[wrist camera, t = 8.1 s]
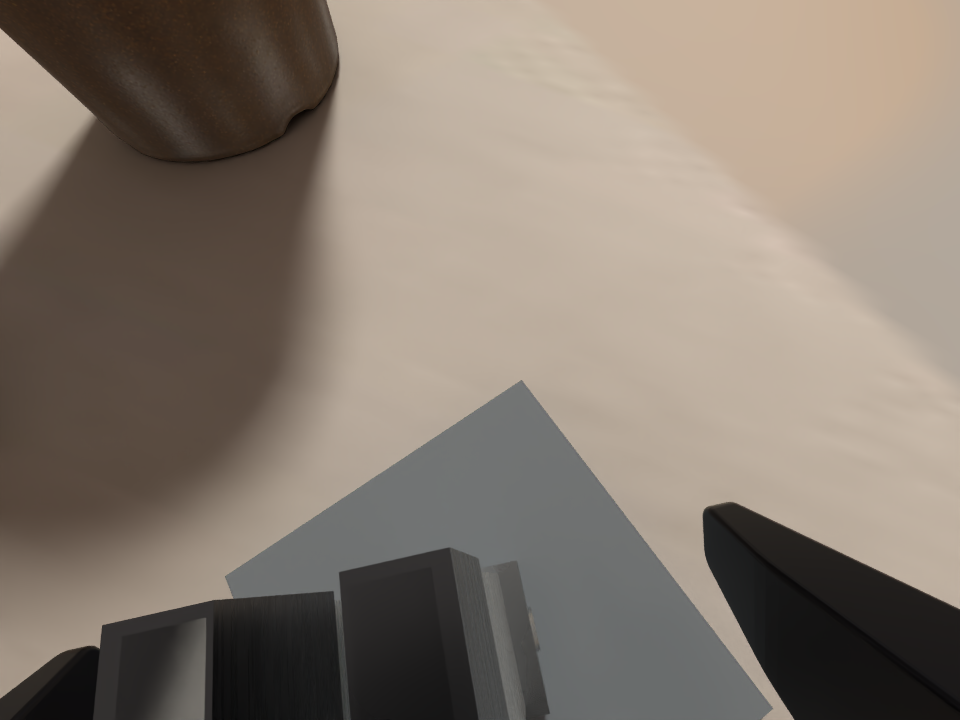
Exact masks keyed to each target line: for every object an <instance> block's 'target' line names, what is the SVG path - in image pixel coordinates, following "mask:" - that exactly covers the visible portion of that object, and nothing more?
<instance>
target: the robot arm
mask: <svg viewBox="0 0 960 720" xmlns="http://www.w3.org/2000/svg"><path fill="white" fill-rule="evenodd" d="M703 532H704V551H705V556H706V560H707V563H708V565H709V567H710V570H711V571H712V573H713V575H714V577H715V579H716V581H717V583H718V585H719V587H720V589H721V591H722V593H723V595H724V596H725V598H726V600H727V602H728V604H729V606H730V608H731V610H732V612H733V614H734V616H735V618H736V619H737V621H738V623H739V625H740V627H741V629H742V631H743V633H744V635H745V637H746V639H747V641H748V643H749V644H750V646H751V648H752V650H753V652H754V654H755V656H756V658H757V660H758V661H759V663H760V665H761V667H762V669H763V671H764V672H765V674H766V676H767V677H768V679H769V681H770V682H771V684H772V685H773V687H774V689H775V690H776V692H777V693H778V695H779V697H780V698H781V700H782V701H783V703H784V704H785V706H786V707H787V709H788V710H789V712H790V714H791V715H792V717H793V718H794V720H960V609H958V608H956V607H954V606H952V605H950V604H948V603H946V602H944V601H941V600H939V599H937V598H935V597H933V596H931V595H929V594H927V593H925V592H922V591H920V590H918V589H916V588H914V587H912V586H910V585H908V584H906V583H903V582H901V581H899V580H897V579H895V578H893V577H891V576H889V575H887V574H885V573H882V572H880V571H878V570H876V569H874V568H872V567H870V566H868V565H866V564H863V563H861V562H859V561H857V560H855V559H853V558H851V557H849V556H847V555H844V554H842V553H840V552H838V551H836V550H834V549H832V548H830V547H828V546H825V545H823V544H821V543H819V542H817V541H815V540H813V539H811V538H809V537H807V536H804V535H802V534H800V533H798V532H796V531H794V530H792V529H790V528H788V527H785V526H783V525H781V524H779V523H777V522H775V521H773V520H771V519H769V518H766V517H764V516H762V515H760V514H758V513H756V512H754V511H752V510H750V509H747V508H745V507H743V506H741V505H739V504H737V503H734V502H726V503H721V504H717V505H713V506H708V507H707V508H705V509H704V512H703ZM99 653H100V649H99V648H97V647H95V646H85V647H81V648H76V649H72V650H68V651H65V652H62V653H60V654H59V655H57V656H56V657H54V658H53V659H52V660H50V661H49V662H48V663H46V664H45V665H44V666H43V667H41V668H40V669H39V670H37V671H36V672H35V673H33V674H32V675H31V676H29V677H28V678H27V679H26V680H24V681H23V682H22V683H20V684H19V685H18V686H16V687H15V688H14V689H12V690H11V691H10V692H9V693H7V694H6V695H5V696H3V697H2V698H1V699H0V720H93V715H94V705H95V694H96V684H97V674H98V663H99Z"/></svg>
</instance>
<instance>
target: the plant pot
mask: <svg viewBox="0 0 960 720" xmlns="http://www.w3.org/2000/svg"><path fill="white" fill-rule="evenodd" d="M0 28H1V29H2V30H3V31H4V32H5V33H6V34H7V35H8V36H9V37H11V38H12V39H13V40H14V41H15V42H16V43H17V44H18V45H19V46H20V47H21V48H23V49H24V50H25V51H26V52H27V53H28V54H29V55H30V56H31V57H32V58H33V59H35V60H36V61H37V62H38V63H39V64H40V65H41V66H42V67H43V68H44V69H45V70H47V71H48V72H49V73H50V74H51V75H52V76H53V77H54V78H55V79H56V80H57V81H59V82H60V83H61V84H62V85H63V86H64V87H65V88H66V89H67V90H68V91H69V92H70V93H71V94H73V95H74V96H75V97H76V98H77V99H78V100H79V101H80V102H81V103H82V104H83V105H84V106H85V107H87V108H88V109H89V110H90V111H91V112H92V113H93V114H94V115H95V116H96V117H97V118H98V119H99V120H100V121H101V122H102V123H103V124H104V125H105V126H106V127H107V128H108V129H109V130H110V131H112V132H113V133H114V134H115V135H116V136H117V137H119V138H120V139H122V140H123V141H125V142H126V143H128V144H129V145H131V146H132V147H133V148H135V149H136V150H138V151H139V152H140V153H143V154H145V155H148V156H150V157H154V158H158V159H163V160H169V161H184V162H187V161H206V160H215V159H220V158H225V157H229V156H234V155H237V154H241V153H244V152H247V151H251V150H253V149H256V148H259V147H261V146H263V145H265V144H267V143H269V142H271V141H273V140H275V139H277V138H279V137H280V136H282V135H283V134H284V133H285V131H286V128H287V125H288V124H289V122H290V120H291V119H292V118H293V116H295V115H296V114H298V113H299V112H301V111H303V110H305V109H314V108H315V107H316V106H317V105H318V104H319V102H320V101H321V100H322V99H323V97H324V95H325V94H326V92H327V90H328V89H329V87H330V85H331V83H332V80H333V78H334V75H335V72H336V68H337V63H338V43H337V36H336V33H335V29H334V26H333V22H332V19H331V15H330V12H329V8H328V5H327V1H326V0H0Z"/></svg>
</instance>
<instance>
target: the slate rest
mask: <svg viewBox="0 0 960 720" xmlns="http://www.w3.org/2000/svg"><path fill="white" fill-rule="evenodd" d="M448 547H451V548H453V549H456V550H458V551H461V552H464V553H466V554H469V555H471V556H474V557H477V558H479V563H480V568H484V567H489V566H493V565H498V564H502V563H507V562H511V561H515V560H516V561H517V562H518V566H519V571H520V576H521V580H522V585H523V589H524V594H525V598H526V603H527V607H529V606H531V609H532V614H533V618H534V623H535V627H536V632H537V636H538V641H539V645H540V650H541V651H538V652H537V653H538V657H539V662H540V667H541V671H542V676H543V680H544V685H545V689H546V695H547V700H548V706H549V711H550V714H546V715H542V716H538V717H533V718H529V719H526V720H761V719H762V718H763V717H764V716H765V715H766V714H767V713H769V712H770V711H771V710H772V709H773V708H772V707H771V705H770V704H769V703H768V701H767V700H766V699H765V697H764V696H763V695H762V693H761V692H760V691H759V690H758V688H757V687H756V686H755V684H754V683H753V682H752V680H751V679H750V678H749V676H748V675H747V674H746V673H745V671H744V670H743V669H742V667H741V666H740V665H739V663H738V662H737V661H736V659H735V658H734V657H733V656H732V654H731V653H730V652H729V650H728V649H727V648H726V646H725V645H724V644H723V642H722V641H721V640H720V639H719V637H718V636H717V635H716V633H715V632H714V631H713V629H712V628H711V627H710V625H709V624H708V623H707V622H706V620H705V619H704V618H703V616H702V615H701V614H700V612H699V611H698V610H697V609H696V607H695V606H694V605H693V603H692V602H691V601H690V599H689V598H688V597H687V595H686V594H685V593H684V592H683V590H682V589H681V588H680V586H679V585H678V584H677V582H676V581H675V580H674V578H673V577H672V576H671V575H670V573H669V572H668V571H667V569H666V568H665V567H664V565H663V564H662V563H661V561H660V560H659V559H658V558H657V556H656V555H655V554H654V552H653V551H652V550H651V548H650V547H649V546H648V544H647V543H646V542H645V541H644V539H643V538H642V537H641V535H640V534H639V533H638V531H637V530H636V529H635V528H634V526H633V525H632V524H631V522H630V521H629V520H628V518H627V517H626V516H625V514H624V513H623V512H622V511H621V509H620V508H619V507H618V505H617V504H616V503H615V501H614V500H613V499H612V497H611V496H610V495H609V494H608V492H607V491H606V490H605V488H604V487H603V486H602V484H601V483H600V482H599V480H598V479H597V478H596V477H595V475H594V474H593V473H592V471H591V470H590V469H589V467H588V466H587V465H586V463H585V462H584V461H583V460H582V458H581V457H580V456H579V454H578V453H577V452H576V450H575V449H574V448H573V447H572V445H571V444H570V443H569V441H568V440H567V439H566V437H565V436H564V435H563V433H562V432H561V431H560V430H559V428H558V427H557V426H556V424H555V423H554V422H553V420H552V419H551V418H550V416H549V415H548V414H547V413H546V411H545V410H544V409H543V407H542V406H541V405H540V403H539V402H538V401H537V399H536V398H535V397H534V396H533V394H532V393H531V392H530V390H529V389H528V388H527V386H526V385H525V384H524V382H523V381H522V380H521V381H520V382H518V383H517V384H515V385H513V386H512V387H510V388H509V389H507V390H506V391H504V392H503V393H501V394H500V395H498V396H497V397H495V398H494V399H492V400H491V401H489V402H488V403H486V404H485V405H483V406H482V407H480V408H479V409H477V410H476V411H474V412H473V413H471V414H470V415H468V416H467V417H465V418H464V419H462V420H461V421H459V422H458V423H456V424H455V425H453V426H452V427H450V428H449V429H447V430H445V431H444V432H442V433H441V434H439V435H438V436H436V437H435V438H433V439H432V440H430V441H429V442H427V443H426V444H424V445H423V446H421V447H420V448H418V449H417V450H415V451H414V452H412V453H411V454H409V455H408V456H406V457H405V458H403V459H402V460H400V461H399V462H397V463H396V464H394V465H393V466H391V467H390V468H388V469H387V470H385V471H384V472H382V473H381V474H379V475H377V476H376V477H374V478H373V479H371V480H370V481H368V482H367V483H365V484H364V485H362V486H361V487H359V488H358V489H356V490H355V491H353V492H352V493H350V494H349V495H347V496H346V497H344V498H343V499H341V500H340V501H338V502H337V503H335V504H334V505H332V506H331V507H329V508H328V509H326V510H325V511H323V512H322V513H320V514H319V515H317V516H316V517H314V518H313V519H311V520H310V521H308V522H306V523H305V524H303V525H302V526H300V527H299V528H297V529H296V530H294V531H293V532H291V533H290V534H288V535H287V536H285V537H284V538H282V539H281V540H279V541H278V542H276V543H275V544H273V545H272V546H270V547H269V548H267V549H266V550H264V551H263V552H261V553H260V554H258V555H257V556H255V557H254V558H252V559H251V560H249V561H248V562H246V563H245V564H243V565H242V566H240V567H238V568H237V569H235V570H234V571H232V572H231V573H229V574H228V575H226V576H225V578H226V580H227V583H228V585H229V588H230V591H231V593H232V596H233V598H234V599H236V598H249V597H262V596H275V595H288V594H301V593H314V592H326V591H334V600H335V601H337V600H341V594H340V581H339V572H341V571H346V570H350V569H355V568H359V567H364V566H368V565H372V564H377V563H381V562H386V561H390V560H395V559H399V558H404V557H408V556H412V555H417V554H421V553H426V552H430V551H435V550H439V549H443V548H448Z"/></svg>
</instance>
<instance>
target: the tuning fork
mask: <svg viewBox="0 0 960 720" xmlns="http://www.w3.org/2000/svg"><path fill="white" fill-rule="evenodd" d="M339 581H340V594H341V600H337V601H335V600H334V591H326V592H314V593H301V594H288V595H275V596H262V597H249V598H236V599H224V600H213V601H208V602H204V603H199V604H195V605H190V606H186V607H182V608H177V609H173V610H168V611H164V612H159V613H155V614H151V615H146V616H142V617H137V618H133V619H128V620H124V621H119V622H115V623H111V624H106V625H102V633H101V643H100V653H99V663H98V674H97V684H96V694H95V705H94V715H93V720H526V719H529V718H533V717H538V716H542V715H546V714H550V711H549V706H548V700H547V695H546V689H545V685H544V680H543V676H542V671H541V667H540V662H539V657H538V653H537V652H538V651H541V650H540V645H539V641H538V636H537V632H536V627H535V623H534V618H533V614H532V609H531V606H529V607H527V603H526V598H525V594H524V589H523V585H522V580H521V576H520V571H519V566H518V562H517V561H516V560H515V561H511V562H507V563H502V564H498V565H493V566H489V567H484V568H480V563H479V558H477V557H474V556H471V555H469V554H466V553H464V552H461V551H458V550H456V549H453V548H451V547H448V548H443V549H439V550H435V551H430V552H426V553H421V554H417V555H412V556H408V557H404V558H399V559H395V560H390V561H386V562H381V563H377V564H372V565H368V566H364V567H359V568H355V569H350V570H346V571H341V572H339Z"/></svg>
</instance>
